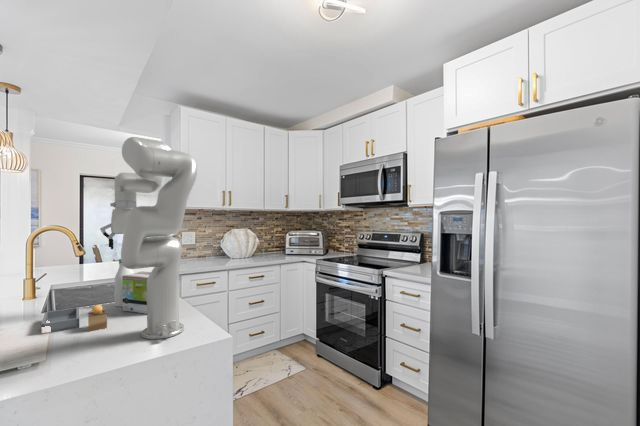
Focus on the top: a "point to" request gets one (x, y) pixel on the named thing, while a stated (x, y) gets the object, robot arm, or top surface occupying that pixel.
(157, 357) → the top surface
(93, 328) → the brown wooden cube
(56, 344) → the top surface
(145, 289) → the tea box
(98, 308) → the ball
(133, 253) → the robot arm
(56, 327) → the tray
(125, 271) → the milk bottle
